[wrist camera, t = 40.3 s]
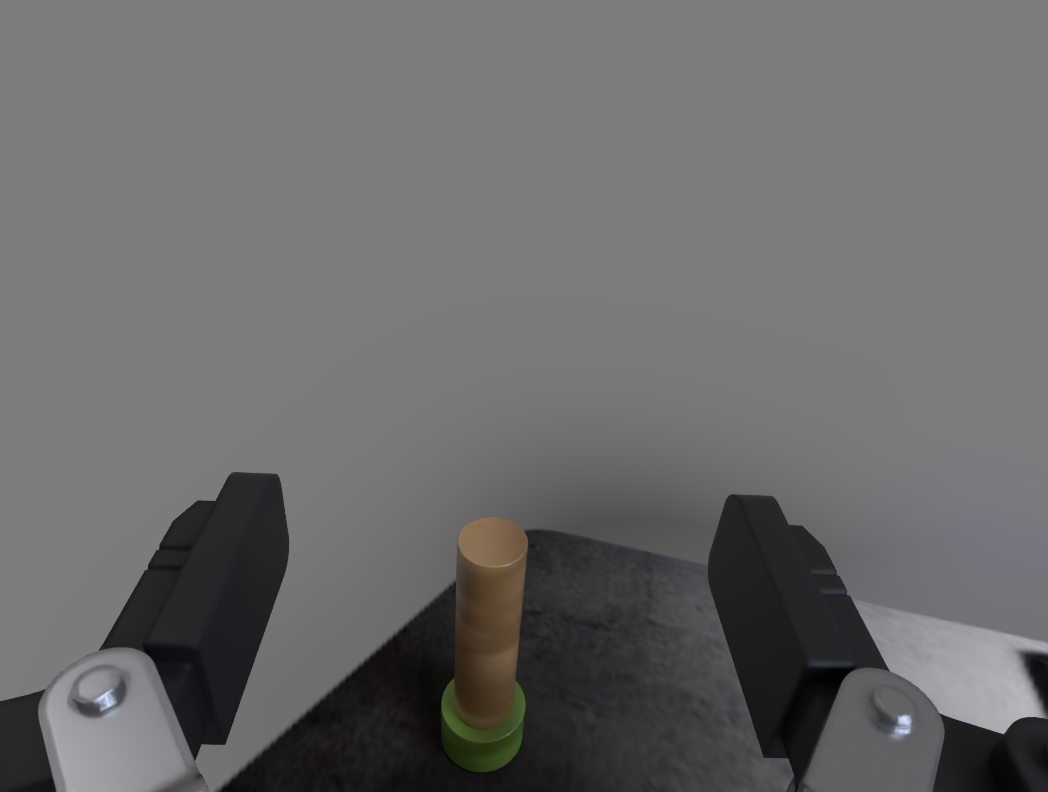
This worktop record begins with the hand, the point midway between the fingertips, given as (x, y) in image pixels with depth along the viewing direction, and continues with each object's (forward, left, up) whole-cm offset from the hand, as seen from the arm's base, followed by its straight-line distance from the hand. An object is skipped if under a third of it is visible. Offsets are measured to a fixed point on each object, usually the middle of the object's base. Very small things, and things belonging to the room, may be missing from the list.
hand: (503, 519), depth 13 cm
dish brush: (-2, +11, -24) cm, 26 cm away
